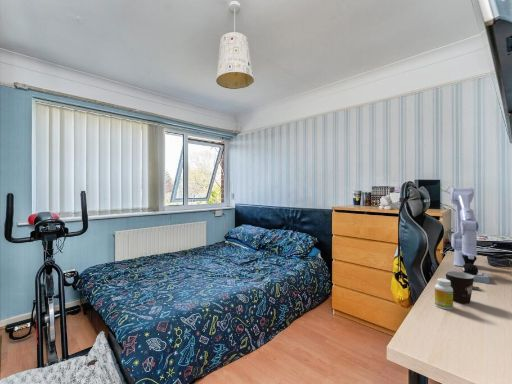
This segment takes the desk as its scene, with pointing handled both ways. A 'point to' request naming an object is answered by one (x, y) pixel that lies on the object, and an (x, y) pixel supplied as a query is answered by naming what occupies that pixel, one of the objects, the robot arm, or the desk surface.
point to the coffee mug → (460, 286)
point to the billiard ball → (470, 269)
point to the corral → (480, 277)
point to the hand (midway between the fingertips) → (468, 270)
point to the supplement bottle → (443, 294)
